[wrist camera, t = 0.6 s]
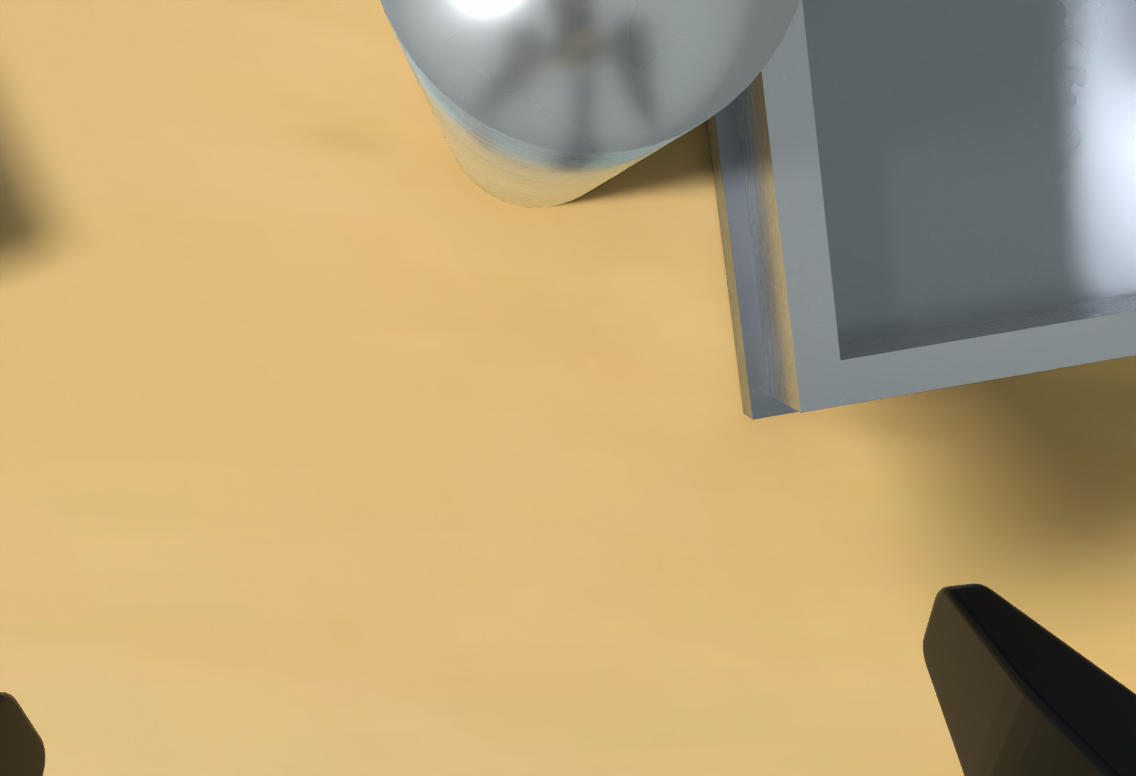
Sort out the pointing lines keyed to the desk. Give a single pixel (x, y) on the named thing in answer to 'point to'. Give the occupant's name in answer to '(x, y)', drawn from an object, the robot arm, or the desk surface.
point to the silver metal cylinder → (578, 81)
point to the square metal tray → (929, 198)
